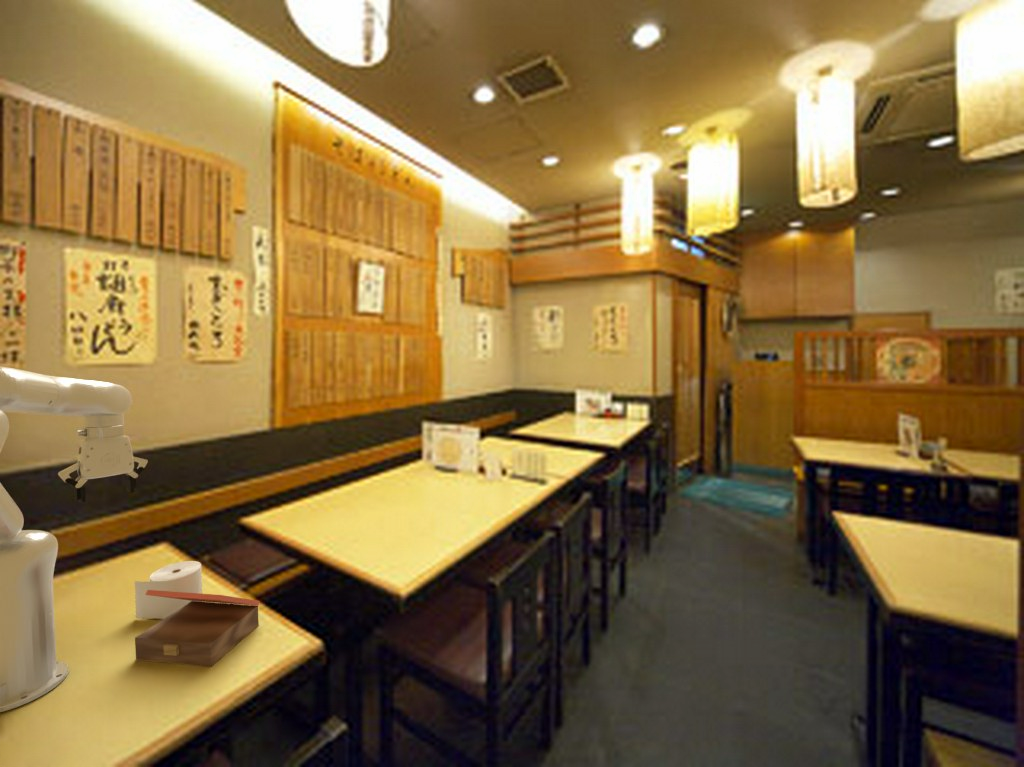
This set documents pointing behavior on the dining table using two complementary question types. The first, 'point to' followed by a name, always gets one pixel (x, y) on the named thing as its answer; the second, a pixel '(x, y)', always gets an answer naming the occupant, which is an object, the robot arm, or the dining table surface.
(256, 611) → the walnut box
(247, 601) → the lid
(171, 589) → the toilet tissue
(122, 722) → the dining table surface
